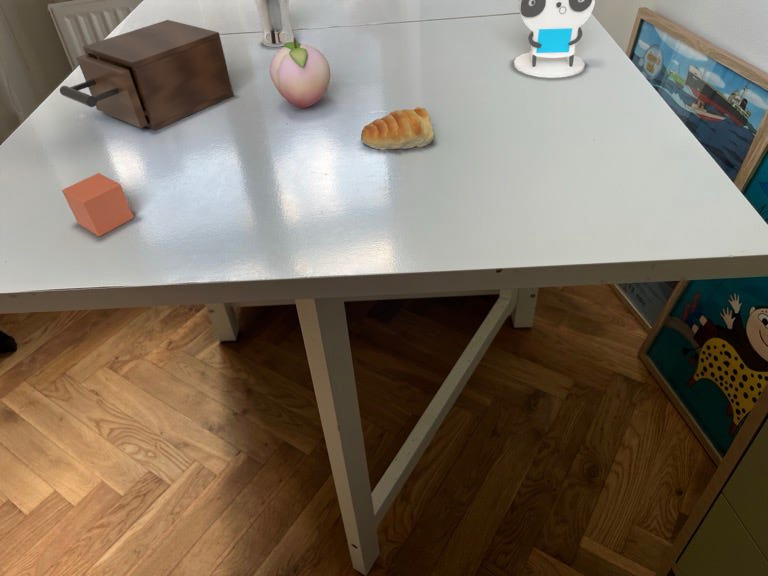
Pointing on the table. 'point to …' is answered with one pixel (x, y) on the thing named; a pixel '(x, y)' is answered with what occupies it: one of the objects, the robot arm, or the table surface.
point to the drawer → (109, 90)
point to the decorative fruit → (300, 73)
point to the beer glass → (275, 22)
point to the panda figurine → (553, 36)
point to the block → (98, 204)
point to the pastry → (399, 130)
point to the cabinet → (170, 68)
